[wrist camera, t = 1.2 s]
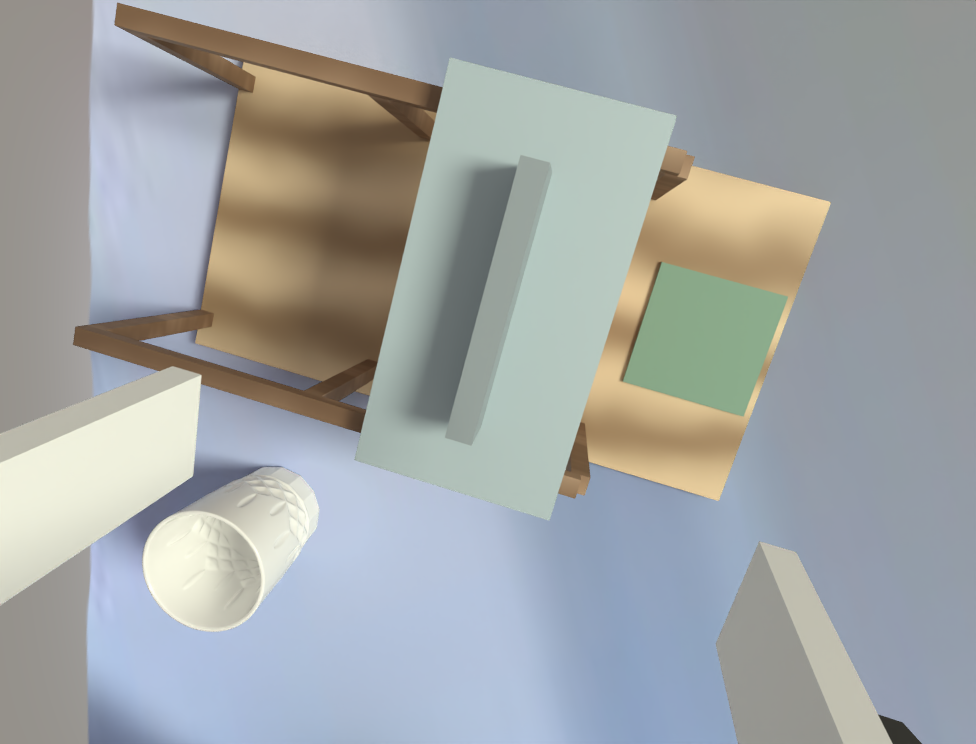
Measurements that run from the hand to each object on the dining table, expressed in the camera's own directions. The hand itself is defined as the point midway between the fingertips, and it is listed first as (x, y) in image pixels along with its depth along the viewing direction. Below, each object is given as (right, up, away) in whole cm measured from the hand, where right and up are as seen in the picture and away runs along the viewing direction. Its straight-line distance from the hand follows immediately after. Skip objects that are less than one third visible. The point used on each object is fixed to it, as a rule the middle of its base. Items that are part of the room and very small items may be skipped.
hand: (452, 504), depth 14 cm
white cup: (-15, -7, +33) cm, 37 cm away
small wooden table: (+1, +9, +28) cm, 29 cm away
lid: (+2, +6, +15) cm, 17 cm away
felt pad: (+15, +5, +26) cm, 30 cm away
